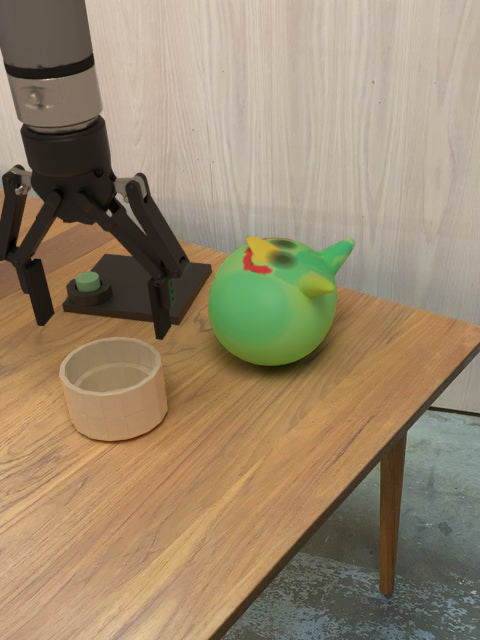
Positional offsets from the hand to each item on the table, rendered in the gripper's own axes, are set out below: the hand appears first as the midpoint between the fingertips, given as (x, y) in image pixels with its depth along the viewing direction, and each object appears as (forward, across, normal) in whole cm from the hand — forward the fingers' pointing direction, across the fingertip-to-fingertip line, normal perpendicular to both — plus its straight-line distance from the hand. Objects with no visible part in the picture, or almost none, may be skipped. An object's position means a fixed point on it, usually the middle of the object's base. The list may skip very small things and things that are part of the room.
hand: (104, 326), depth 83 cm
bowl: (+12, 0, 0) cm, 12 cm away
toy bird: (+12, +15, +17) cm, 26 cm away
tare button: (+9, -14, +23) cm, 28 cm away
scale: (+12, -8, +27) cm, 31 cm away
